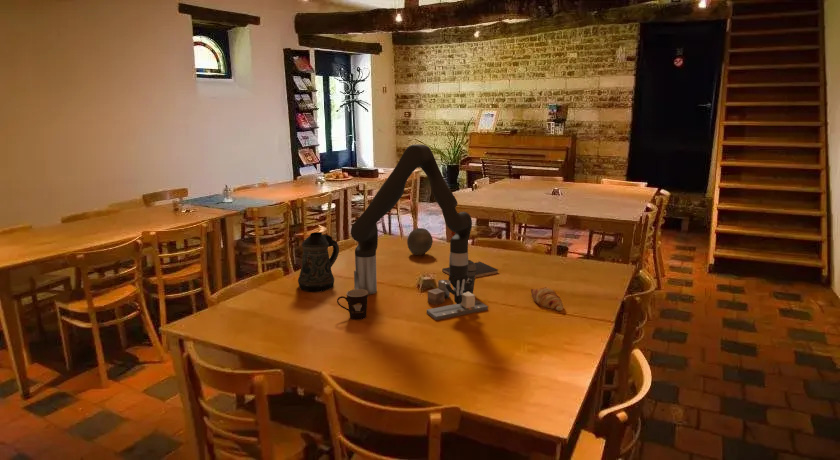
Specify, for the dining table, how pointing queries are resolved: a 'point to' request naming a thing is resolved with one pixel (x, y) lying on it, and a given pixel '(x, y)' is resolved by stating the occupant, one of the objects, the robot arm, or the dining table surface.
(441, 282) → the metal canister
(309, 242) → the beer stein
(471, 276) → the beverage cup
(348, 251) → the dining table surface
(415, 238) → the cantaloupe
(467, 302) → the knob
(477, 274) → the hardcover book
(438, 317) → the board
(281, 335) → the dining table surface
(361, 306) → the coffee mug
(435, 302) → the walnut block
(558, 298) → the croissant
